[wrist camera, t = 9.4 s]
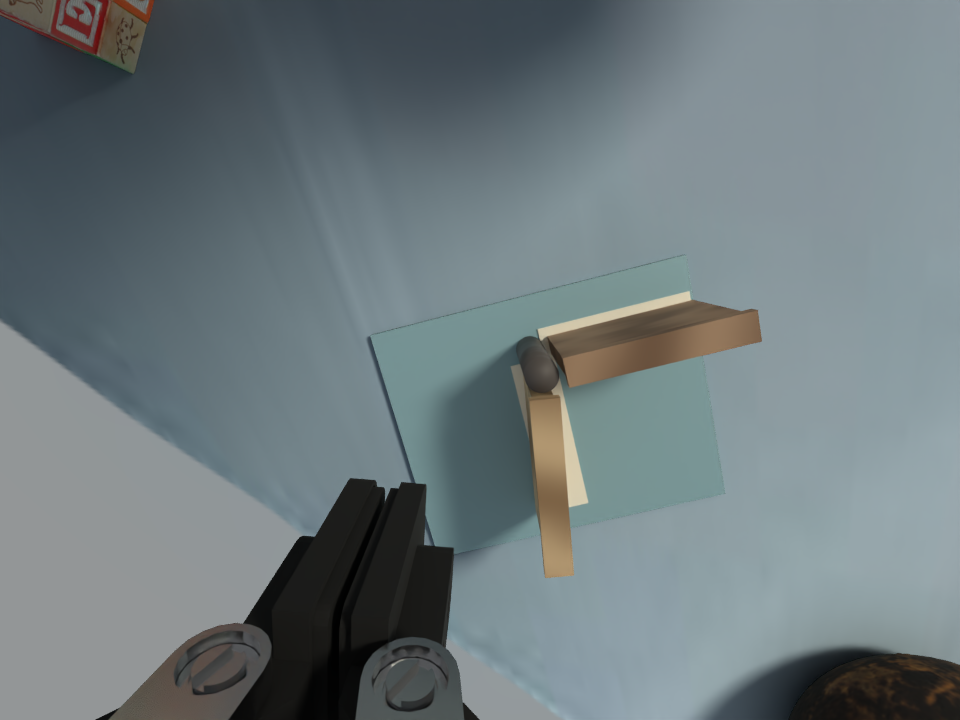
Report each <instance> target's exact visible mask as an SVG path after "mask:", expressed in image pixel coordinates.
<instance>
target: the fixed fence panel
mask: <svg viewBox="0 0 960 720" xmlns="http://www.w3.org/2000/svg"><path fill="white" fill-rule="evenodd" d="M547 338H548V343H549V347H550V351H551V354H552V356H553V357H554V359H555V361H556V362H557V364H558V365H559V367H560V368H561V370H562V371H563V373H564V374H565V376H566V380H567V384H568V386H569V388H571V387H575V386H580V385H584V384H588V383H592V382H596V381H600V380H604V379H608V378H613V377H617V376H621V375H625V374H629V373H633V372H637V371H641V370H646V369H650V368H654V367H658V366H662V365H666V364H670V363H674V362H678V361H683V360H687V359H691V358H695V357H699V356H703V355H707V354H711V353H716V352H720V351H724V350H728V349H732V348H736V347H740V346H744V345H749V344H753V343H757V342H761V341H762V338H761V331H760V324H759V316H758V310H754V309H749V310H745V311H738V310H734V309H730V308H725V307H721V306H717V305H712V304H708V303H704V302H699V301H695V300H690V301H686V302H682V303H678V304H674V305H670V306H666V307H662V308H658V309H654V310H650V311H646V312H642V313H638V314H634V315H630V316H626V317H622V318H618V319H614V320H610V321H606V322H602V323H598V324H594V325H590V326H586V327H582V328H578V329H574V330H570V331H566V332H562V333H558V334H554V335H550V336H547ZM516 353H517V356H518V359H519V363H520V366H521V369H522V372H523V375H524V379H525V382H526V384H527V386H528V387H529V388H530V389H531V390H532V391H534V392H537V393H546V392H549V391H551V390H552V389H554V388H555V387H556V385H557V383H558V381H559V371H558V368H557V367H556V365H555V364H554V362H553V360H552V359H551V357H550V355H549V354H548V352H547V351H546V349H545V347H544V346H543V344H542V343H541V341H540V340H539V339H538V338H536V337H533V336H527V337H524V338H522V339H521V340H520V341H519V342H518V344H517V346H516Z"/></svg>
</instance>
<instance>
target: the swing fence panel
mask: <svg viewBox="0 0 960 720" xmlns="http://www.w3.org/2000/svg"><path fill="white" fill-rule="evenodd" d="M523 378H524V375H523ZM524 389H525V400H526V410H527V421H528V432H529V443H530V454H531V465H532V476H533V486H534V497H535V508H536V513H537V518H538V523H539V528H540V533H541V543H542V554H543V565H544V573H545V578H551V577H562V576H573V575H574V570H573V557H572V544H571V530H570V517H569V504H568V491H567V478H566V465H565V452H564V439H563V426H562V412H561V399H560V396H559V395H553V393H552V391H549V392H546V393H537V392H534V391H532V390H531V389H530V388H529V387H528V386H527V384H526V382H525V379H524Z"/></svg>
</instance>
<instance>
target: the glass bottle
mask: <svg viewBox="0 0 960 720" xmlns="http://www.w3.org/2000/svg"><path fill="white" fill-rule="evenodd" d="M789 720H960V665H958V664H955V663H952V662H949V661H945V660H941V659H936V658H932V657H925V656H918V655H910V654H901V653H896V654H885V655H876V656H871V657H865V658H860V659H857V660H854V661H850V662H848V663H845V664H842V665H840V666H838V667H836V668H834V669H832V670H830V671H828V672H827V673H826V674H824V675H823V676H821V677H819V678H818V679H817V680H816V681H815V682H814V683H813V684H812V685H811V686H809V687H808V689H807V690H806V691H805V692H804V693H803V694H802V696H801V697H800V699H799V700H798V702H797V704H796V705H795V707H794V709H793V711H792V713H791V715H790V718H789Z"/></svg>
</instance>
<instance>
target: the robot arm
mask: <svg viewBox="0 0 960 720" xmlns="http://www.w3.org/2000/svg"><path fill="white" fill-rule="evenodd" d="M426 492H427V487H426V484H418V483H405V482H401V484H400V487H399V489H397V488H391V489H390V492H389V494H388V496H387V499H386V501H385V489H384V487H377V483H376V480H366V479H353V478H350V479H349V480H348V482H347V484H346V485H345V487H344V489H343V490H342V492H341V494H340V496H339V497H338V499H337V501H336V502H335V504H334V506H333V507H332V509H331V511H330V512H329V514H328V516H327V517H326V519H325V521H324V523H323V524H322V526H321V528H320V529H319V531H318V533H317V534H316V536H315V537H311V536H301V537H300V538H299V539H298V540H297V541H296V543H295V544H294V546H293V547H292V549H291V550H290V552H289V553H288V555H287V557H286V558H285V560H284V561H283V563H282V564H281V566H280V567H279V569H278V570H277V572H276V573H275V575H274V577H273V578H272V580H271V581H270V583H269V584H268V586H267V587H266V589H265V591H264V592H263V594H262V595H261V597H260V598H259V600H258V602H257V603H256V605H255V606H254V608H253V609H252V611H251V612H250V614H249V615H248V617H247V619H246V620H245V622H244V623H243V624H240V623H233V624H226V625H220V626H217V627H214V628H211V629H208V630H205V631H203V632H201V633H199V634H198V635H196V636H194V637H192V638H190V639H189V640H187V641H186V642H185V643H184V644H182V645H181V646H180V647H179V648H178V649H177V650H175V651H174V652H173V653H172V655H170V657H169V658H168V659H167V660H166V661H165V662H164V663H163V664H162V665H161V666H160V667H159V668H158V669H157V670H156V671H155V672H154V673H153V674H152V675H151V676H150V677H149V678H148V679H147V680H146V682H144V683H143V685H141V687H140V688H139V689H138V690H137V691H136V692H135V693H134V694H133V695H132V696H131V697H130V698H129V699H128V700H127V701H126V702H125V703H124V704H123V705H122V706H121V707H120V708H118V709H116V710H114V711H112V712H110V713H108V714H106V715H104V716H102V717H100V718H98V719H96V720H479V719H478V718H477V717H476V715H475V714H474V713H473V712H472V711H471V710H470V709H469V708H468V707H467V706H466V705H465V704H464V703H463V702H462V692H461V682H460V673H459V669H458V666H457V662H456V660H455V659H454V657H453V656H452V654H451V653H450V652H449V651H448V650H447V649H446V639H447V630H448V621H449V612H450V601H451V589H452V575H453V560H454V548H453V547H440V546H427V545H424V533H425V513H426Z"/></svg>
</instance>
